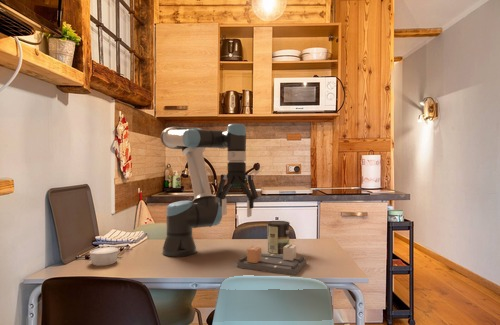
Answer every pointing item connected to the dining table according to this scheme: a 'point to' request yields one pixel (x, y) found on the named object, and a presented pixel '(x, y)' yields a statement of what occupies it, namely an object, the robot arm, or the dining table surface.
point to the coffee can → (277, 236)
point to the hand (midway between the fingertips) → (236, 215)
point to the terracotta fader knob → (254, 254)
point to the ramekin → (104, 256)
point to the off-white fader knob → (289, 252)
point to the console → (274, 264)
